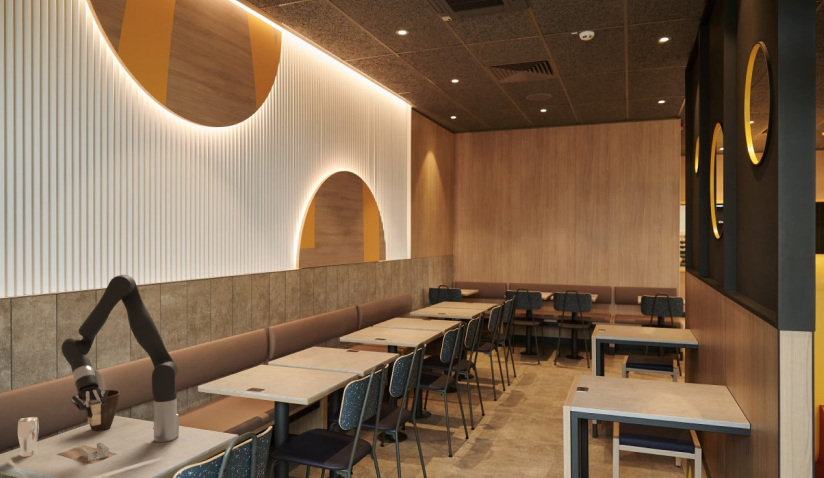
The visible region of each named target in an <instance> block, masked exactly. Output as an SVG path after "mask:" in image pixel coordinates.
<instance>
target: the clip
mask: <svg viewBox="0 0 824 478" xmlns="http://www.w3.org/2000/svg"><path fill="white" fill-rule="evenodd" d="M96 449H97V451H95V452H91V451H90V450H88V449H87V448H85V447H82V448H80V450H81V457H82V458H84V459H85V460H86V461H88V462H91V461H94V460H98V459H101V458H105V457H108V458H110V457H109V452H110V449H109V447H108V446H107V445H105V444H104V443H102V442H97V443H96Z"/></svg>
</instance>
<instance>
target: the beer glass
mask: <svg viewBox="0 0 824 478" xmlns="http://www.w3.org/2000/svg"><path fill="white" fill-rule="evenodd" d="M39 425H40V424H39V417H38V416H30V417H29V416H28V417H24V418H20V419H19V420H18V422H17V437H18V442H19V447H20V448H19V449H20V452H19V457H22V458H23V457H30V456H34V455H36V454H37V453H38V450H37V443H38V439H39V431H40V426H39Z"/></svg>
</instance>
